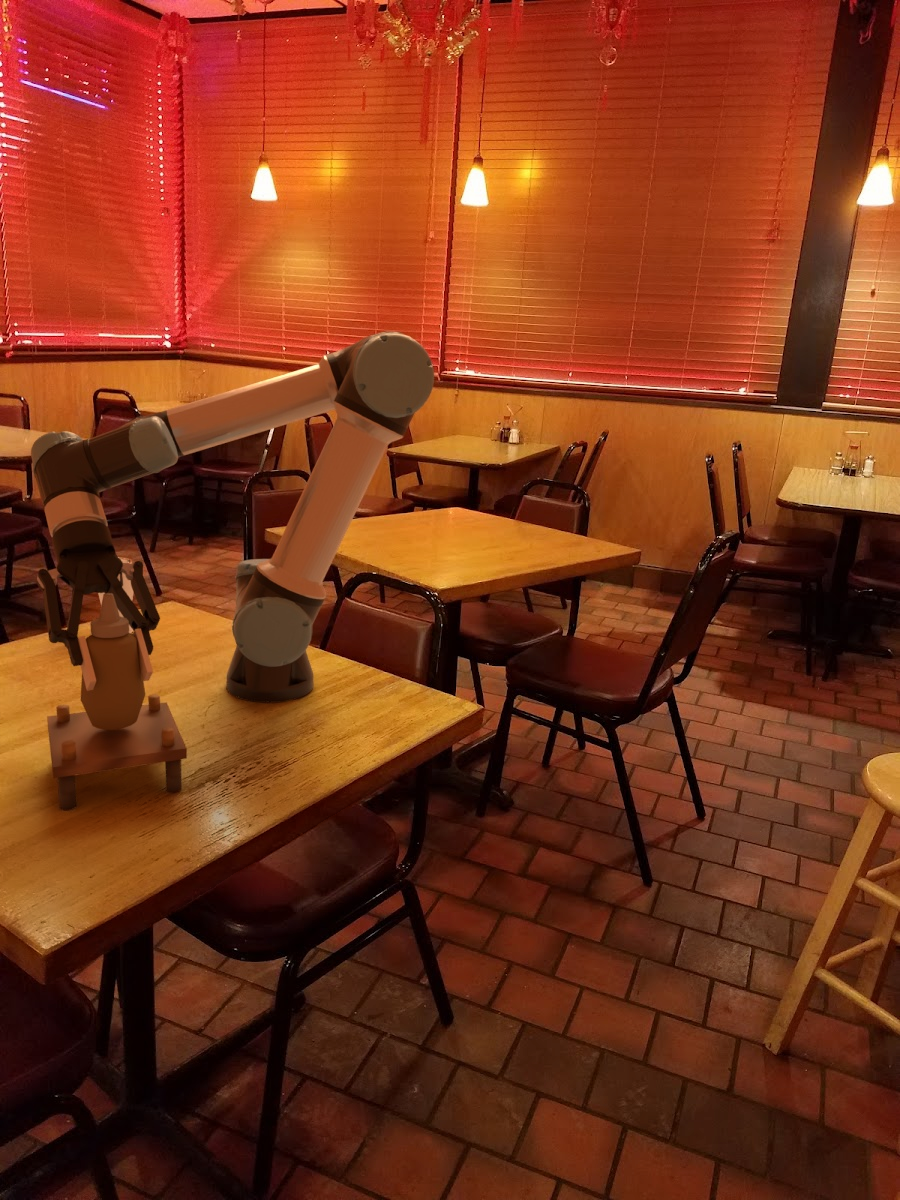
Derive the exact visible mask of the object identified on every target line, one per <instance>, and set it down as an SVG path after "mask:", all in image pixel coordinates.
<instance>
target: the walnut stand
mask: <svg viewBox="0 0 900 1200" xmlns="http://www.w3.org/2000/svg"><path fill="white" fill-rule="evenodd" d="M46 720H47V722H46V723H47V733H48V741H49V751H50V760H51V769H52V778H53V779H56V778H57V788H58V789H57V790H58V791H57V792H58V804H59V805H58V806H59V809H60V810H61V811H71V810H74V809H75V808H76V807H77V806H78V805H77V801H78V800H77V790H76V789H77V788H76V787H77V786H76V776H77V775H86V774H92V773H99V772H104V771H112V770H119V769H123V768H124V769H126V768H131V767H132V768H133V767H139V766H145V765H152V764H159V763H165V765H164V766H165V791H166V792H167V793H170V794H173V793H174V794H177V793H179V792H181V790H182V789H183V787H182V786H183V785H182V784H183V783H182V782H183V781H182V780H183V779H182V760H186V759H188V757H187V756H188V754H187V746H186V744H185V741H184V739H183V736H182V735H181V732H180V729H179V728H178V725H177V723H176V721H175V717H174V716H173V714H172V711H171V708H170V707H169V705H168V702H167V701H166V702H161V695H160V694H155V693H153V694H149V695H148V704H142V707H141V710H140V713H139V716H138V719H137V722H135V723H134V724H133V725H131V726H128V727H126V728H121V729H116V730H104V729H98V728H96V727H94V726H92V724H91V722H90V720H89V717H88V715H87V713H86V711H82V712H73V713H71V712H70V705H68V704H60V705H57V706H56V715H48V716H46Z"/></svg>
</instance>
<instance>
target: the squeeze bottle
mask: <svg viewBox="0 0 900 1200" xmlns="http://www.w3.org/2000/svg"><path fill="white" fill-rule="evenodd" d="M100 605H101V604H100ZM89 625H90V635H89V636H87V637H85V639H86V643H87V646H88V650H89V654H90V658H91V662H92V666H93V670H94V673H95V677H96V683H95V686H94V689H93V690H89V691H87V689H86V685H85V681H84V678H83V674H82V673H81V683H80V684H81V687H80V702H81V704H82V706H83V709H84V712H86V713H87V715H88V717H89V720H90V722H91V724H92V726H94V727H96V728H98V729H104V730H116V729H121V728H126V727H128V726H131V725H133V724H134V723H135V722H137V719H138V716H139V713H140V710H141V707H142V705H143V703H144V700H145V697H146V690H145V683H144V682H145V681H143V679H142V675H141V671H140V662H139V652H138V643H137V638H136V637H135V636H134V635H133V633H129V621H128V619H127V618H124V617H120V616H119V612H118V609H117V605H116V602H115V599H114V595H113V594H112V593H105V594H103V600H102V605H101V606H100V612H99V617H96V618H94V619H92V620H91V621H90V624H89Z"/></svg>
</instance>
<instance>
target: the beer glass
mask: <svg viewBox="0 0 900 1200" xmlns="http://www.w3.org/2000/svg"><path fill="white" fill-rule="evenodd" d="M118 558H120V559H121V561H122V563H129V564H133V559H131V558H129V557H121V556H118ZM117 578H118V579H119V581H120V582H121V585H122V588H123V589H124V590H125V592H126V593H127V595H128V596H129V597H130V599H131V600H132V601H133V599H134V598H133V597H134V592H133V589H132V586H131V580H128V579H127V578H126V575H125V574H124V573H123V572H120V574H119V576H118V577H117ZM97 594H98V598H99V601H100V605H102V600H103V594H105V593H97ZM117 609H118V608H117ZM118 612H119V616H120V617H123V615H122V614H121V612H120V611H119V610H118ZM132 631H133V629H132V628H131V626H130V625H129V633H131V632H132ZM133 632H134V631H133ZM131 634H132V633H131Z"/></svg>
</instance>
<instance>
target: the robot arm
mask: <svg viewBox="0 0 900 1200" xmlns="http://www.w3.org/2000/svg"><path fill="white" fill-rule="evenodd" d="M434 383H435V371H434V365H433V362H432V359H431V356H430V355H429V353H428V352H427V350H426V349H425V348H424V346H423V345H422V344H421V343H419V342H418V340H415V339H414V338H413V337H411V336H410V335H406V334H404V333H402V332H399V331H391V330H390V331H382V332H379V333H375V334H371V335H368V336H366V337H364V338H362V339H360V340H359V341H356V342H355V343H353V344H351V345H349V346H346V347H343V348H342V349H339V350H336V351H334V352H331V353H329V354H328V353H327V354H323V355H322V356H321V359H320V361H319V362H318V363H317V364H313V365H311V366H307V367H304V368H301V369H297V370H295V371H290V372H287V373H284V374H281V375H280V374H279V375H277V376H275V377H271V378H267V379H264V380H261V381H257V382H255V383H254V382H253V383H251V384H248V385H243V386H241V387H237V388H234V389H231V390H228V391H224V392H221V393H217V394H215V395H211V396H208V397H204V398H201V399H198V400H194V401H191V402H189V403H188V402H187V403H185V404H182V405H178V406H175V407H171V408H167V410H162V411H158V412H155V413H151V414H149V415H140V416H136V417H135V418H131V419H129V420H128V421H127V422H125V424H123V425H121V426H119V427H116V428H114V429H112V430H109V431H106V432H104V433H101V434H99V435H97V436H94V437H91V438H87V439H83V438H82V437H81V436H80V435H78V434H76V433H74V432H71V431H67V430H65V431H64V430H63V431H61V432H55V431H50V432H48V433H45V434H43V435H41V436H39V437H38V438H37V439H36V440H35V441H34V442H33V443H32V446H31V448H30V455H31V461H32V469H33V470H32V472H33V477H34V479H35V481H36V485H37V489H38V491H39V495H40V499H41V504H42V506H43V511H44V513H45V517H46V522H47V526H48V532H49V535H50V536H51V543H52V547H53V551H54V555H55V559H56V561H57V564H56V568H53V569H45V568H41V569H39V570H38V573H37V577H36V581H35V582H36V585H37V586H38V588H39V589H40V591H41V593H42V595H43V596H42V597H43V604H44V611H45V619H46V627H47V634H48V635H47V636H48V640H49V642H50V643H52V644H57V643H60V644H63V645H64V647H65V648H66V649H67V651H68V655H69V659H70V660H69V661H70V663H71V665H72V666H73V667H79V666H80V669H81V675H82V674H83V678H84V681H85V685H86V689H87V691H89V690H93V689H94V686H95V683H96V677H95V673H94V670H93V666H92V662H91V658H90V654H89V650H88V646H87V643H86V636H85V635H82V636H80V635H79V628H80V620H81V612H82V605H83V601H84V596H85V595H90V594H93V593H95V594H98V593H112V594H113V595H114V599H115V602H116V605H117V608H118V610H119V611H120V612H121V614H122V615H123V617H124V618H127V619H128V621H129V625H130V626H131V628H132V629H133V633H132V634H133V635H134V636H135V637H136V638H137V643H138V652H139V662H140V671H141V675H142V679H143V682H147V681H150V679H151V677H152V675H153V673H154V670H153V666H152V662H151V660H150V656H151V655H152V653H153V650H154V644H153V639H152V638H151V633H150V631H155V630H156V629H157V627H158V625H159V623H160V620H161V617H160V614H159V612H158V610H157V607H156V605H155V601H154V600H153V597H152V594H151V591H150V590H149V586H148V585H147V582H146V579H145V577H144V562H142V561H141V560H136V561H134V563H132V564H129V563H122V561H121V559H120V558H118V557H119V556H118V555H117V553H116V549H115V545H114V542H113V538H112V534H111V531H110V528H109V527H108V525H109V524H108V521H107V517H106V513H105V511H104V507H103V504H102V500H101V499H102V498H101V497H100V493H101V492H104V491H106V490H110V489H112V488H114V487H116V486H119V485H123V484H126V483H128V482H131V481H134V480H137V479H138V480H139V479H140V478H142V477H146V476H150V475H151V474H158V473H160V472H162V471H163V470H164V469H167V468H169V467H172V466H174V465H175V464H177V463H178V459H179V458H180V457H184V456H186V455H190V454H193V453H196V452H201V451H203V450H206V449H209V448H212V447H216V446H218V445H223V444H225V443H229V442H233V441H236V440H239V439H243V438H246V437H249V436H252V435H255V434H260V433H262V432H263V433H264V432H265V431H268V430H271V429H272V430H273V429H275V428H278V427H282V426H285V425H288V424H292V423H295V422H298V421H303V420H305V419H309V418H311V417H315V416H318V415H322V414H324V413H328V412H331V411H335V412H336V420H335V422H334V424H333V427H332V428H331V430H330V433H329V435H328V437H327V439H326V442H325V443H324V445H323V448H322V449H321V452H320V454H319V456H318V458H317V461H316V462H315V465H314V467H313V468H312V471H311V473H310V475H309V477H308V480H307V482H306V484H305V486H304V488H303V490H302V493H301V494H300V497H299V499H298V502H297V503H296V505H295V508H294V510H293V512H292V514H291V516H290V518H289V520H288V522H287V524H286V526H285V529H284V530H283V533H282V536H281V537H280V540H279V541H278V544H277V545H276V548H275V551H274V552H273V554H272V556H271V558H255V559H254V558H253V559H246V560H242V561H240V562H239V563H237V565H236V574H235V576H234V578H235V580H236V582H235V583H236V587H235V588H236V595H235V597H236V600H235V609H234V618H233V620H232V626H231V627H232V635H233V638H234V641H235V644H236V645H235V649H234V651H233V652H234V653H233V655H232V658H231V661H230V664H229V667H228V670H227V673H226V690H227V691H228V693H229V694H231V695H232V696H233V697H235V698H239V699H241V700H245V701H249V702H256V703H279V702H287V701H292V700H296V699H300V698H302V697H304V696H306V695H308V694H309V693H311V691H312V690H313V689H314V672H313V668H312V665H311V662H310V659H309V657H308V653H307V650H308V647H309V645H310V643H311V641H312V636H313V625H314V622H315V620H316V619H317V617H318V614H319V612H320V610H321V609H322V606H323V604H324V603H325V602H324V601H325V599H326V598H327V592H326V589H325V587H324V583H323V582H324V580H325V577H326V575H327V573H328V571H329V569H330V566H331V565H332V563H333V560H334V558H335V557H336V554H337V552H338V550H339V548H340V546H341V543H342V541H343V540H344V537H345V536H346V534H347V532H348V529H349V527H350V525H351V522H352V521H353V519H354V517H355V515H356V512H357V511H358V508H359V506H360V505H361V502H362V500H363V498H364V496H365V494H366V492H367V490H368V488H369V486H370V483H371V481H372V480H373V478H374V476H375V473H376V471H377V470H378V467H379V465H380V463H381V461H382V458H383V457H384V455H385V452H386V450H387V448H388V447H389V445H390V444H392V443H393V442H396V441H399V440H402V439H403V438H404V436H405V434H406V432H407V431H408V429H409V425H411V422H412V420H413V417H414V416H415V414H416V412H417V413H418V411H419V410H420V409H421V408H422V407H424V405H425V404H426V403H427V401H428V399H429V397H430V396H431V393H432V392H433V387H434ZM120 572H123V573H124V574H125V575H126V578H127V579H128V580H131V586H132V589H133V592H134V593H133V595H134V597H135V599H136V602H137V604H138V606H139V608H138V606H136V604H135V603H134V601H133V600H131V599H130V597H129V596H128V595H127V593H126V592H125V590H124V589H123V588H122V585H121V582H120V581H119V579H118V578H117V577H118V576H119V574H120ZM58 579H60V580H62V582H64V583H65V584H66V585H67V586H69V587H70V588H71V589H72V592H71V598H70V601H71V602H70V607H69V615H68V620H67V627H66V629H62V625H61V624H62V623H61V618H60V617H61V616H60V609H59V602H58V596H57V588H56V586H57V583H58ZM139 609H140V610H139ZM78 635H79V636H78Z"/></svg>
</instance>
